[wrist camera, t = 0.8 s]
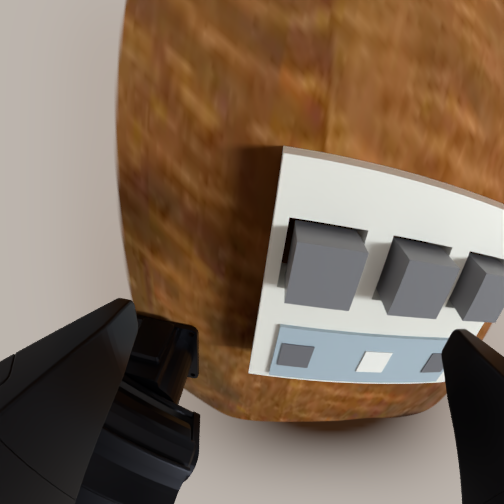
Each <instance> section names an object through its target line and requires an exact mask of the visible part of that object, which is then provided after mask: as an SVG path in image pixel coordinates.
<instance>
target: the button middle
mask: <svg viewBox="0 0 504 504" xmlns="http://www.w3.org/2000/svg"><path fill="white" fill-rule="evenodd" d="M459 270H460V268H459V267H458V266H457V264H456V263H455V262H454V261H453V260H452V259H451V258H450V256H449V255H448V254H447V253H446V252H445V251H444V250H443V249H442V248H441V246H436V245H431V244H426V243H421V242H416V241H411V240H406V239H401V238H396V237H393V240H392V243H391V246H390V249H389V252H388V255H387V258H386V261H385V264H384V267H383V270H382V273H381V275H380V278H379V281H378V283H377V286H376V289H377V291H378V294H379V296H380V299H381V301H382V303H383V306H384V308H385V311H386V313H387V315H391V316H402V317H414V318H427V319H436V318H437V316H438V314H439V312H440V310H441V309H442V307H443V305H444V303H445V301H446V299H447V296H448V294H449V292H450V290H451V288H452V286H453V284H454V282H455V279H456V277H457V275H458V273H459Z"/></svg>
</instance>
